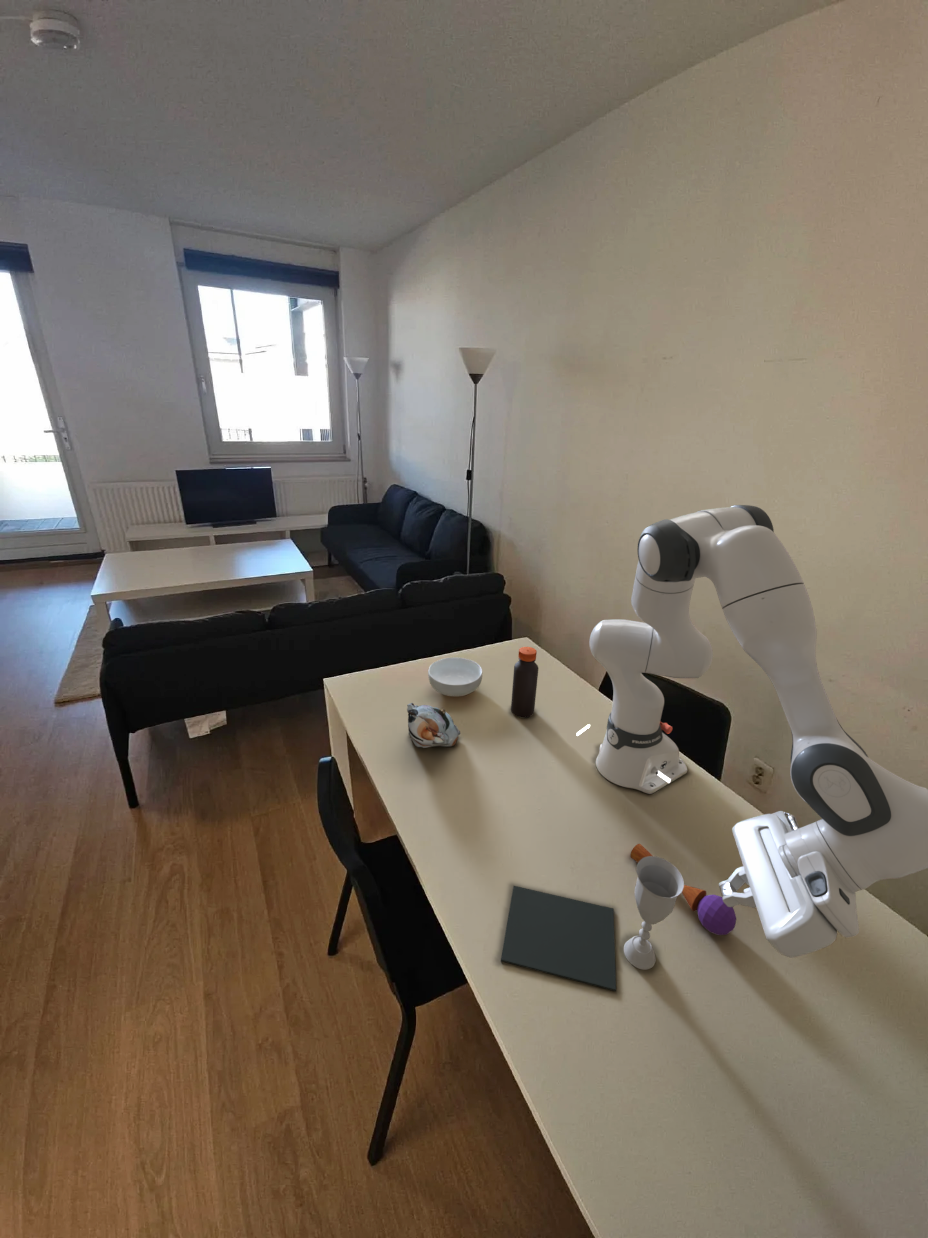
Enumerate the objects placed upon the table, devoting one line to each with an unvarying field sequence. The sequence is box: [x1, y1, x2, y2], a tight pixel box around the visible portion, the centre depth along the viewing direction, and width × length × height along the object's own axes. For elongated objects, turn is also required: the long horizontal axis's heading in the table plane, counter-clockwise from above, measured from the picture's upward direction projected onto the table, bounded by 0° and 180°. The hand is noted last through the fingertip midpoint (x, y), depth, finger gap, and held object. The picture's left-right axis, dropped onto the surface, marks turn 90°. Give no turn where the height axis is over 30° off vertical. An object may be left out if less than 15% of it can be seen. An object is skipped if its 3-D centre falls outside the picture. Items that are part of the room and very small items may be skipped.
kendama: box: [629, 843, 737, 936], centre depth 92 cm, size 6×6×20 cm
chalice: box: [623, 855, 685, 971], centre depth 80 cm, size 7×7×18 cm
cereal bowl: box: [427, 656, 483, 697], centre depth 156 cm, size 17×17×7 cm
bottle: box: [510, 646, 539, 719], centre depth 143 cm, size 7×7×20 cm
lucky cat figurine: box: [406, 702, 461, 749], centre depth 130 cm, size 15×12×14 cm
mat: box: [500, 885, 617, 992], centre depth 86 cm, size 18×14×1 cm
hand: (722, 895), depth 75 cm, fingers closed
